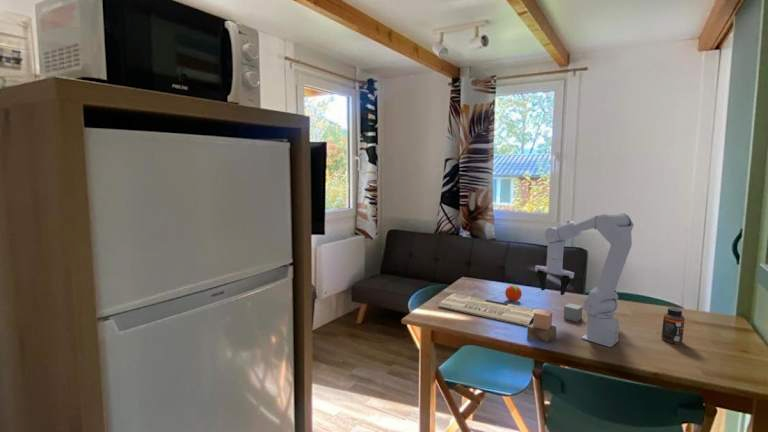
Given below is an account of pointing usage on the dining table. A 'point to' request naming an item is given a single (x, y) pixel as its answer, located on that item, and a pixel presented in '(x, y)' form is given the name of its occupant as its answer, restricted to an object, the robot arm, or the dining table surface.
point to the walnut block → (541, 333)
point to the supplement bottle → (673, 326)
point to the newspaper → (488, 309)
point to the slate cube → (573, 312)
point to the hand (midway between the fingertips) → (552, 292)
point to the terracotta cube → (542, 319)
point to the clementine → (513, 293)
